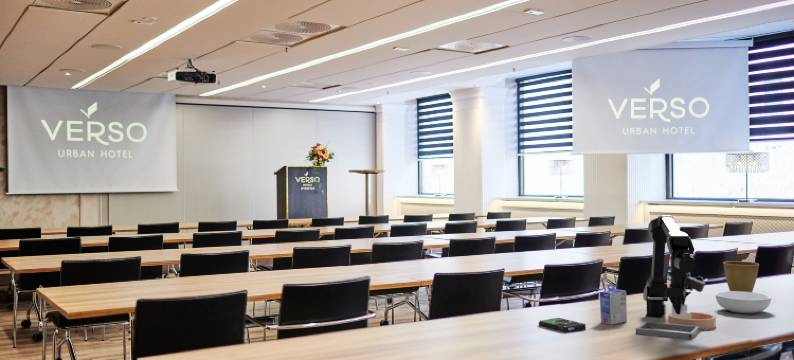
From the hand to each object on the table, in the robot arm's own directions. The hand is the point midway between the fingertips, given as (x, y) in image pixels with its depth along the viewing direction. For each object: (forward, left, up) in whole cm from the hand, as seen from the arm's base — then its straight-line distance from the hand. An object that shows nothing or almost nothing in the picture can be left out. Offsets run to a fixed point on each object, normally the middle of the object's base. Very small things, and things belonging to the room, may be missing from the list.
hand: (679, 313), depth 259 cm
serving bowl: (+14, +57, -8) cm, 59 cm away
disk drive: (-40, -10, -8) cm, 42 cm away
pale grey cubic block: (0, 0, -1) cm, 1 cm away
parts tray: (-4, 0, -7) cm, 8 cm away
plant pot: (+9, +94, -8) cm, 95 cm away
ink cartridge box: (-26, +9, -8) cm, 29 cm away
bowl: (+1, +18, -7) cm, 20 cm away
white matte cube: (-2, +18, -7) cm, 19 cm away
